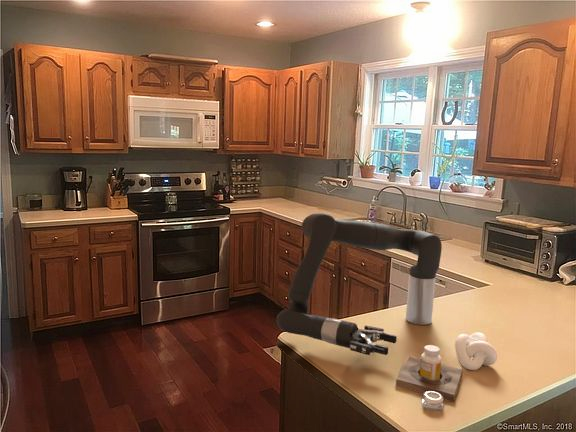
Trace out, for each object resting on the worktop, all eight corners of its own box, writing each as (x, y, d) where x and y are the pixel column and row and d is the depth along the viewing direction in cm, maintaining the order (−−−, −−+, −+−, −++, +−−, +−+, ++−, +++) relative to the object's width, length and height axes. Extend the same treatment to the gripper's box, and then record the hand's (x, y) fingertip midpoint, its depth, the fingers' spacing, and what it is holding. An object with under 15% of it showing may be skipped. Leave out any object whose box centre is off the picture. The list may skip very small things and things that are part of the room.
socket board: (408, 362, 137) (409, 356, 137) (461, 375, 130) (462, 369, 130) (395, 385, 124) (396, 378, 124) (453, 402, 117) (454, 394, 117)
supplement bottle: (435, 375, 130) (438, 343, 128) (442, 386, 125) (445, 352, 123) (416, 375, 130) (419, 343, 128) (422, 385, 124) (425, 352, 123)
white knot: (471, 378, 129) (474, 348, 128) (441, 358, 140) (444, 331, 139) (500, 371, 134) (504, 342, 132) (469, 353, 145) (472, 326, 143)
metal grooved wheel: (423, 398, 118) (421, 408, 114) (424, 388, 118) (422, 398, 113) (443, 403, 117) (442, 413, 112) (444, 392, 116) (443, 402, 112)
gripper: (330, 329, 131) (386, 342, 124) (348, 313, 144) (399, 324, 136) (329, 353, 133) (384, 368, 125) (346, 335, 145) (397, 347, 138)
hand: (392, 345), depth 131 cm, fingers open, 8 cm apart
